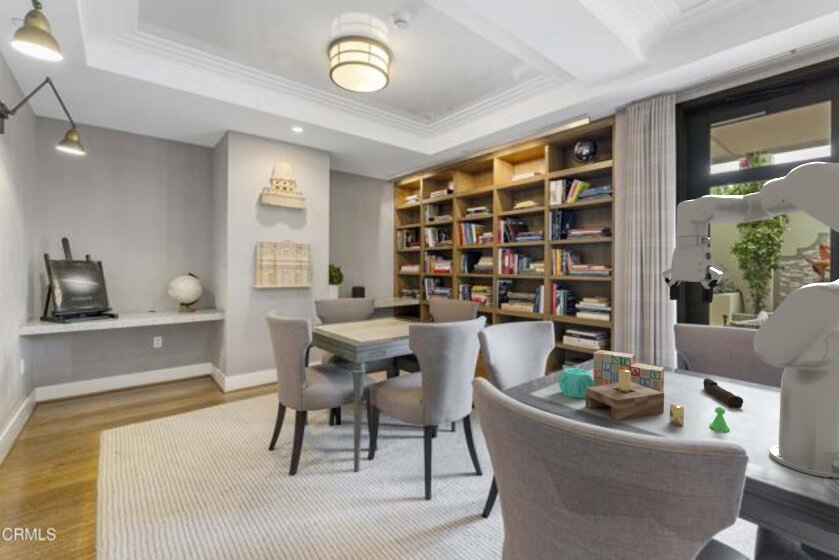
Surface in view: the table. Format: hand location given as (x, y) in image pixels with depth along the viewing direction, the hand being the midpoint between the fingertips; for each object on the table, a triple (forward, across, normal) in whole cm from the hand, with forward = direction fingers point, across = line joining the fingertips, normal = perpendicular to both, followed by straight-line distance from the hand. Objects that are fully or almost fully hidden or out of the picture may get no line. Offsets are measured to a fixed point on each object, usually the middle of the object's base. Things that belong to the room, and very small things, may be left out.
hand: (690, 301), depth 114 cm
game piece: (+34, -11, +3) cm, 35 cm away
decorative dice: (+34, +24, +20) cm, 46 cm away
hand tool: (+34, +6, -22) cm, 41 cm away
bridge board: (+33, +8, +16) cm, 38 cm away
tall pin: (+33, +8, +16) cm, 38 cm away
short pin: (+33, -5, +11) cm, 35 cm away
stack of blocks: (+34, +22, -1) cm, 40 cm away
